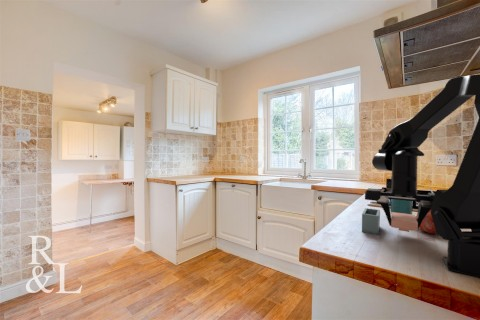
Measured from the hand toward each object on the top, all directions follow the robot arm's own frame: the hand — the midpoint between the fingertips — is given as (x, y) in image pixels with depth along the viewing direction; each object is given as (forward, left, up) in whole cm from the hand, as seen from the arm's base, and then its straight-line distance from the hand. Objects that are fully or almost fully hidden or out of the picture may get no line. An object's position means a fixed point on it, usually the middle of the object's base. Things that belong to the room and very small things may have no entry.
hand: (403, 227), depth 62 cm
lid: (0, 0, +1) cm, 1 cm away
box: (+3, +8, -3) cm, 9 cm away
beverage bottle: (+22, 0, -3) cm, 22 cm away
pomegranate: (+10, -7, -3) cm, 13 cm away
